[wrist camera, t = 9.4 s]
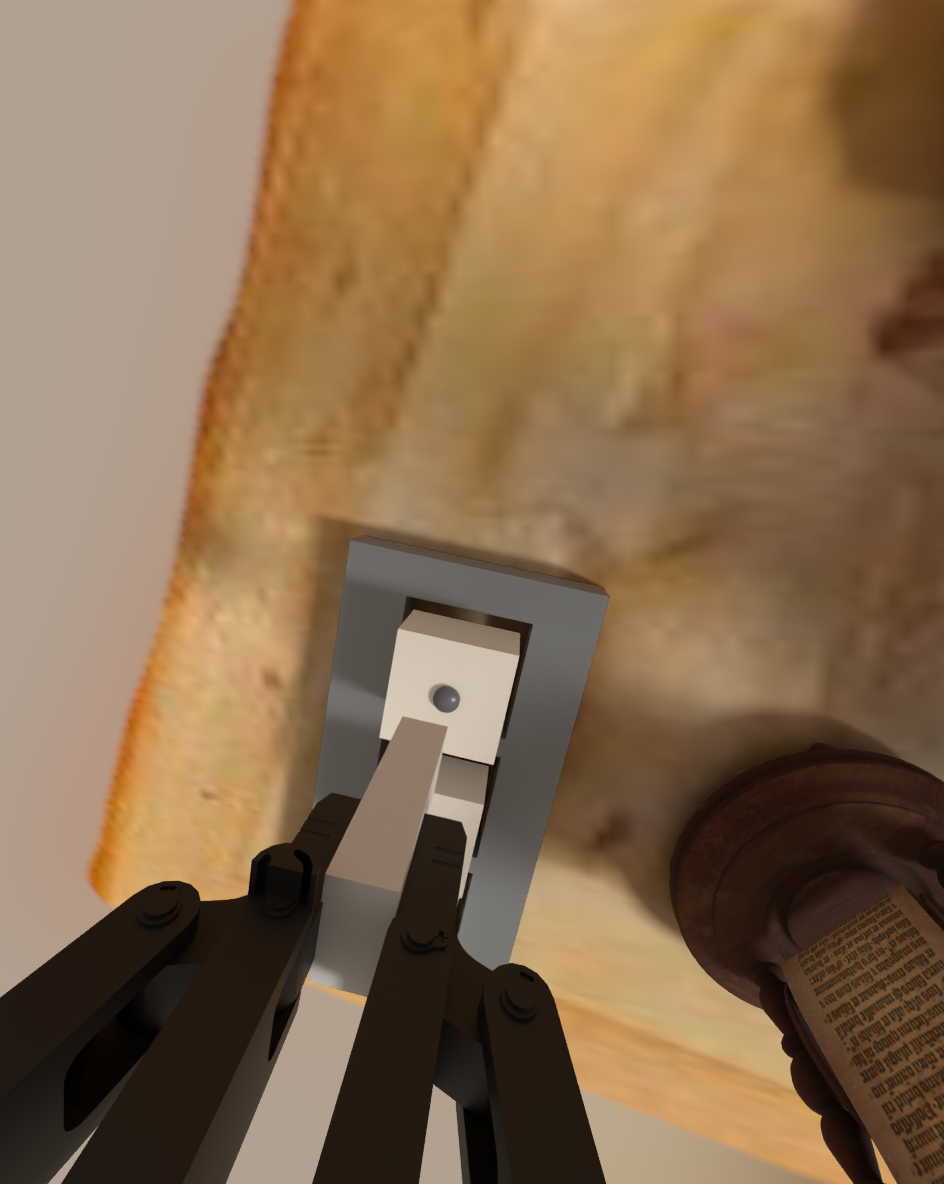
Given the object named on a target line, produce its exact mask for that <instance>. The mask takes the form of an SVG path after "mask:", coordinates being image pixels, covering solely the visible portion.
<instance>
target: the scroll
mask: <svg viewBox="0 0 944 1184" xmlns="http://www.w3.org/2000/svg"><path fill="white" fill-rule="evenodd" d="M670 895H671V901H672V906H673V910H674V913H675V916H676V919H677V922H678V924H679V927H680V930H681V933H682V936H683V938H684V940H685V943H686V945H687V946H688V948H689V950H690V952H691V954H692V955H693V957H694V958H695V959H696V961H697V962H698V963H699V965H700V966H701V967H702V968H703V969H704V970H705V972H706V973H707V974H708V975H709V976H710V977H711V978H712V979H713V980H715V981H716V982H717V983H718V984H719V985H720V986H722V987H723V988H724V989H726V990H727V991H728V992H730V993H732V994H733V995H735V996H736V997H738V998H740V999H741V1000H743V1001H745V1002H747V1003H749V1004H751V1005H753V1006H756V1007H758V1008H761V1009H763V1010H764V1011H765V1013H766V1014H767V1015H768V1016H769V1018H770V1019H771V1020H772V1021H773V1022H774V1024H775V1025H776V1026H777V1027H778V1028H779V1030H780V1031H781V1032H782V1033H783V1034H784V1036H783V1038H782V1041H781V1044H782V1049H783V1051H784V1052H785V1053H786V1054H787V1055H788V1056H789V1057H791V1058H793V1060H792V1063H791V1068H790V1070H791V1076H792V1082H793V1085H794V1088H795V1090H796V1091H797V1093H798V1095H799V1096H800V1097H801V1099H802V1100H803V1101H804V1103H805V1104H806V1105H807V1106H808V1107H809V1108H810V1109H811V1110H813V1111H814V1112H816V1113H818V1114H819V1115H821V1116H822V1118H821V1131H822V1135H823V1139H824V1141H825V1143H826V1145H827V1147H828V1148H829V1150H830V1151H831V1153H832V1154H833V1156H834V1157H835V1158H836V1160H837V1161H838V1163H839V1164H840V1165H841V1167H842V1168H843V1169H844V1171H845V1172H846V1174H847V1175H848V1176H849V1178H850V1179H851V1181H852V1182H853V1184H885V1183H883V1181H882V1178H881V1174H880V1170H879V1167H878V1163H877V1159H876V1156H875V1152H874V1148H873V1145H872V1141H871V1139H872V1140H873V1141H874V1143H875V1145H876V1147H877V1148H878V1150H879V1152H880V1154H881V1156H882V1157H883V1159H884V1161H885V1163H886V1164H887V1166H888V1168H889V1170H890V1172H891V1173H892V1175H893V1177H894V1179H895V1180H896V1182H897V1184H944V782H943V781H941V780H940V779H938V778H937V777H935V776H934V775H932V774H931V773H929V772H927V771H925V770H923V769H921V768H919V767H917V766H915V765H913V764H910V763H908V762H905V761H903V760H900V759H897V758H893V757H890V756H887V755H883V754H878V753H873V752H867V751H858V750H841V749H835V748H833V747H831V746H829V745H826V744H822V743H816V744H814V745H813V746H812V751H809V752H802V753H798V754H793V755H789V756H785V757H781V758H778V759H775V760H772V761H769V762H766V763H764V764H761V765H759V766H756V767H754V768H752V769H750V770H748V771H746V772H744V773H742V774H741V775H739V776H737V777H736V778H734V779H732V780H731V781H729V782H728V783H726V784H725V785H724V786H722V787H721V788H720V789H718V790H717V791H716V792H715V793H714V794H713V795H712V796H710V797H709V798H708V799H707V800H706V801H705V802H704V803H703V804H702V805H701V807H700V808H699V809H698V810H697V811H696V812H695V814H694V815H693V816H692V818H691V819H690V820H689V822H688V824H687V825H686V827H685V829H684V830H683V832H682V834H681V836H680V838H679V841H678V843H677V845H676V848H675V851H674V854H673V858H672V860H671V864H670ZM847 1110H848V1111H847ZM870 1138H871V1139H870Z"/></svg>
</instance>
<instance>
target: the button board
mask: <svg viewBox="0 0 944 1184" xmlns="http://www.w3.org/2000/svg"><path fill="white" fill-rule="evenodd" d="M413 598H418V599H422V600H427V601H431V602H436V603H440V604H445V605H449V606H454V607H458V608H463V609H467V610H472V611H476V612H481V613H485V614H490V615H494V616H499V617H503V618H508V619H512V620H517V621H521V622H526V623H530V626H529V630H528V634H527V639H526V643H525V647H524V651H523V655H522V659H521V664H520V668H519V672H518V676H517V680H516V685H515V689H514V693H513V697H512V701H511V705H510V710H509V714H508V718H507V720H504V723H503V727H502V732H501V736H500V740H499V744H498V748H497V753H496V756H497V757H498V760H497V764H496V768H495V772H494V777H493V781H492V785H491V789H490V793H489V797H488V802H487V806H486V810H485V814H484V818H483V823H482V827H481V831H478V833H477V837H476V841H475V845H474V849H473V854H472V858H471V862H470V866H469V871H468V873H470V877H469V881H468V885H467V890H466V894H465V898H464V902H463V906H462V910H461V915H460V919H459V923H458V927H457V930H456V934H457V938H458V940H459V942H460V943H461V945H462V947H463V948H464V949H465V951H466V952H467V953H468V954H469V955H470V956H471V957H472V958H474V959H475V960H476V961H478V962H479V963H481V964H482V965H484V966H485V967H487V968H489V969H490V970H492V971H493V970H494V969H495V968H497V967H498V966H499V965H504V964H508V963H509V960H510V956H511V953H512V949H513V945H514V942H515V938H516V934H517V931H518V927H519V924H520V920H521V916H522V913H523V909H524V905H525V902H526V898H527V895H528V891H529V887H530V884H531V880H532V876H533V873H534V869H535V866H536V862H537V858H538V855H539V851H540V848H541V844H542V840H543V837H544V833H545V829H546V826H547V822H548V819H549V815H550V811H551V808H552V804H553V800H554V797H555V793H556V790H557V786H558V782H559V779H560V775H561V771H562V768H563V764H564V761H565V757H566V753H567V750H568V746H569V742H570V739H571V735H572V732H573V728H574V724H575V721H576V717H577V713H578V710H579V706H580V703H581V699H582V695H583V692H584V688H585V684H586V681H587V677H588V674H589V670H590V666H591V663H592V659H593V656H594V652H595V648H596V645H597V641H598V637H599V634H600V630H601V627H602V623H603V619H604V616H605V612H606V608H607V605H608V601H609V598H610V596H609V595H608V594H607V592H606V591H605V589H604V588H603V587H600V586H595V585H591V584H586V583H581V582H577V581H572V580H568V579H563V578H558V577H554V576H549V575H544V574H540V573H535V572H531V571H526V570H521V569H517V568H512V567H507V566H503V565H498V564H494V563H489V562H484V561H480V560H475V559H470V558H466V557H461V556H457V555H452V554H447V553H443V552H438V551H433V550H429V549H424V548H420V547H415V546H410V545H406V544H401V543H396V542H392V541H387V540H383V539H378V538H373V537H369V536H361V537H358V538H355V539H352V540H350V544H349V552H348V559H347V566H346V573H345V580H344V587H343V594H342V601H341V608H340V615H339V623H338V630H337V637H336V644H335V651H334V658H333V665H332V672H331V679H330V686H329V694H328V701H327V708H326V715H325V722H324V729H323V736H322V743H321V750H320V757H319V765H318V772H317V779H316V786H315V793H314V800H313V807H312V810H313V808H314V807H315V805H316V804H317V802H319V801H320V800H322V799H323V798H325V797H326V796H328V795H329V794H330V793H332V792H333V793H337V794H341V795H345V796H350V797H354V798H358V799H362V798H363V796H364V794H365V792H366V790H367V788H368V786H369V784H370V782H371V780H372V777H373V775H374V773H375V771H376V769H377V767H378V765H379V763H380V761H381V759H382V757H383V755H384V753H385V751H386V749H387V745H388V740H387V739H382V738H379V736H380V731H381V725H382V719H383V713H384V707H385V702H386V696H387V690H388V684H389V678H390V672H391V667H392V661H393V655H394V649H395V643H396V638H397V632H398V628H399V627H400V626H401V624H402V623H403V622H404V621H405V620H406V619H407V617H408V616H409V615H410V614H411V609H412V604H413Z"/></svg>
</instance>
